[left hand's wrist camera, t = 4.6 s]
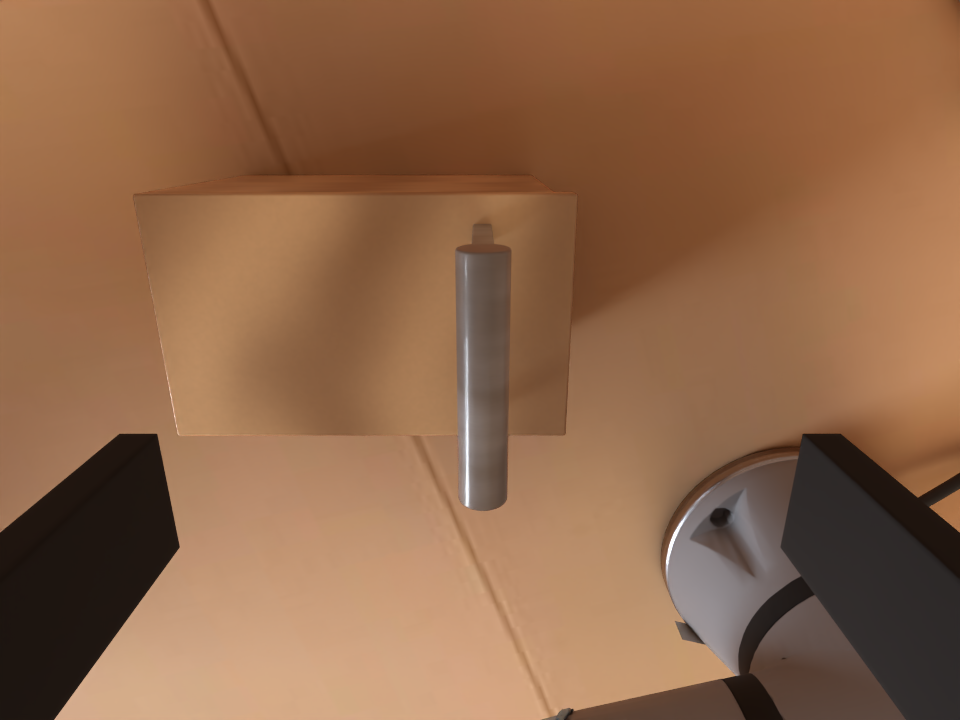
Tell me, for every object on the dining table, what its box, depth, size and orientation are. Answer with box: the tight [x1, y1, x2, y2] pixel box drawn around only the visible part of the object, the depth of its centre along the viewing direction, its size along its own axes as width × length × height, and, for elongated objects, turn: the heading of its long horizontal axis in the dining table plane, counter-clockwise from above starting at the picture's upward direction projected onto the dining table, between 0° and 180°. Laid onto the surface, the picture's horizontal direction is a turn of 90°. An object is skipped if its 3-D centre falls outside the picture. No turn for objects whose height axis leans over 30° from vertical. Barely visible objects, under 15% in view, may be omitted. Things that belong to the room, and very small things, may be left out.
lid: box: [133, 192, 578, 511], centre depth 21 cm, size 16×10×8 cm, turn 90°
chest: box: [149, 175, 553, 192], centre depth 30 cm, size 16×10×10 cm, turn 90°
